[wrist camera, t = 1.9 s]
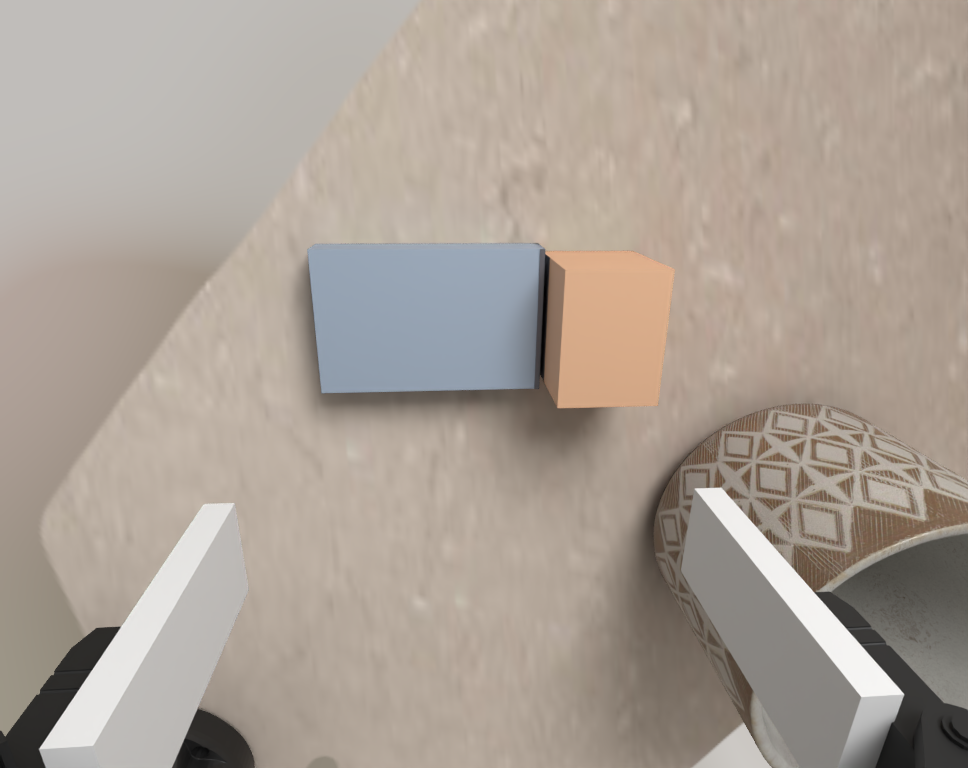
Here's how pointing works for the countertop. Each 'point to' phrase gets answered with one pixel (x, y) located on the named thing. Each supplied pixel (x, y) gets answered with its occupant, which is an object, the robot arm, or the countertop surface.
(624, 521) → the countertop surface
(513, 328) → the blue-grey slab
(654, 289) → the block
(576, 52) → the countertop surface
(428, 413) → the countertop surface
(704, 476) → the planter
